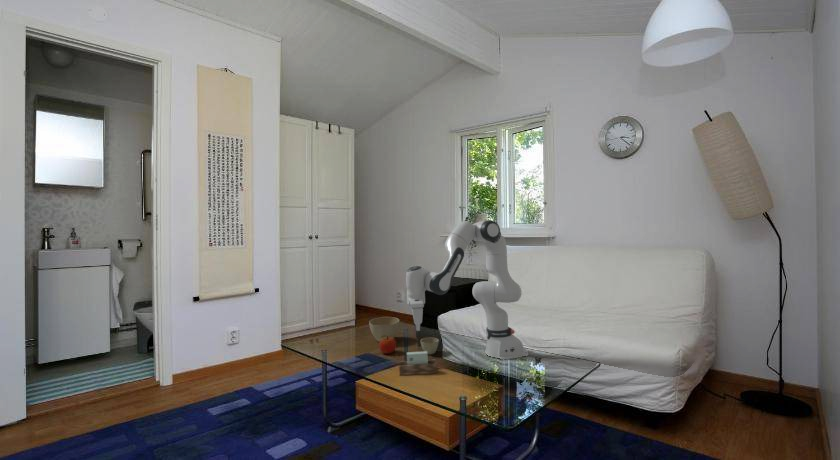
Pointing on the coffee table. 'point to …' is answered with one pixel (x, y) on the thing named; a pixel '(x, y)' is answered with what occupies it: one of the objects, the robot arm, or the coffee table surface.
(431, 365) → the brown flat wooden block
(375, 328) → the large beige bowl
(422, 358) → the pale mint flat box
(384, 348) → the fruit
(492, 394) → the coffee table surface
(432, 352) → the bowl
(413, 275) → the robot arm
